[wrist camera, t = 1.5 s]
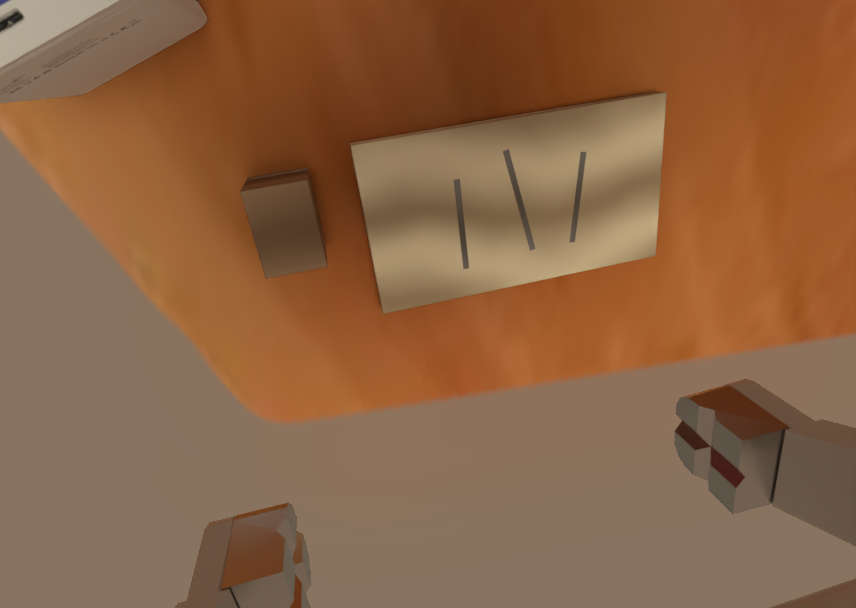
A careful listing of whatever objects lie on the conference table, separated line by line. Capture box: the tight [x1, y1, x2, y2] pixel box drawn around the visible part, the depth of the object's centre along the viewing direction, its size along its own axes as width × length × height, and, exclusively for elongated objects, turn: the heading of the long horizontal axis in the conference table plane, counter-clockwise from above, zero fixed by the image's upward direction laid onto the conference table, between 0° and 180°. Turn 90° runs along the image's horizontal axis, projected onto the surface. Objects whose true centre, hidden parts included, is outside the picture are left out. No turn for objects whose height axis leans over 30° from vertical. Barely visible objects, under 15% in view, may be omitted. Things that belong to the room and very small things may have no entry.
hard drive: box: [0, 0, 208, 103], centre depth 21 cm, size 2×8×12 cm, turn 117°
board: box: [350, 92, 667, 314], centre depth 34 cm, size 11×20×1 cm, turn 98°
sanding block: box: [240, 168, 327, 279], centre depth 30 cm, size 5×4×4 cm
